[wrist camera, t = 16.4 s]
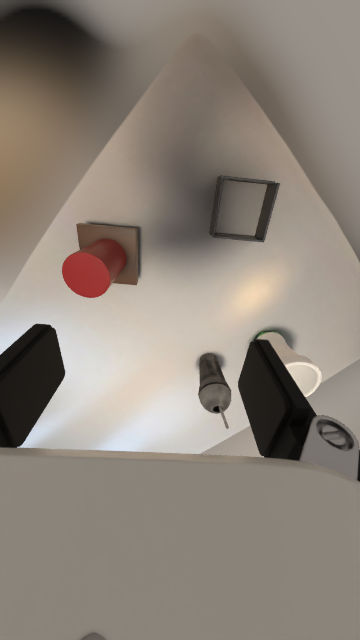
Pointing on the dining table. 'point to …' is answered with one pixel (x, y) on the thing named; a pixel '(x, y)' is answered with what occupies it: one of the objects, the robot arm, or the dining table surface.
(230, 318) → the dining table surface
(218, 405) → the beverage cup
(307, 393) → the cup
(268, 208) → the dark square frame
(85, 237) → the stool
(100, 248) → the can
